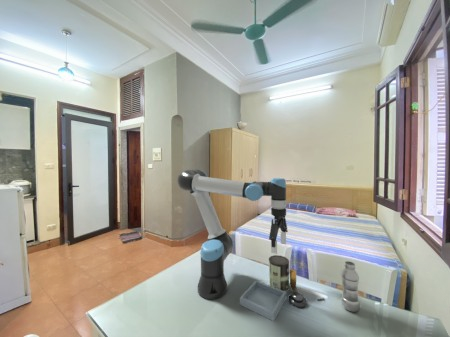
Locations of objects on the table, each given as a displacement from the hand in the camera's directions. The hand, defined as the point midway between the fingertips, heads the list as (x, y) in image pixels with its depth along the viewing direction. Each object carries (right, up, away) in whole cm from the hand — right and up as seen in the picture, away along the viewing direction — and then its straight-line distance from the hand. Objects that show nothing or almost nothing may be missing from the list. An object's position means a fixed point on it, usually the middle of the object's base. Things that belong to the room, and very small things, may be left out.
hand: (279, 248), depth 98 cm
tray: (-10, -20, -11) cm, 25 cm away
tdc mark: (+17, -20, -10) cm, 28 cm away
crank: (+6, -19, -8) cm, 21 cm away
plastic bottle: (+27, -20, -16) cm, 37 cm away
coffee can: (0, -20, 0) cm, 20 cm away
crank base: (+5, -20, -11) cm, 24 cm away
